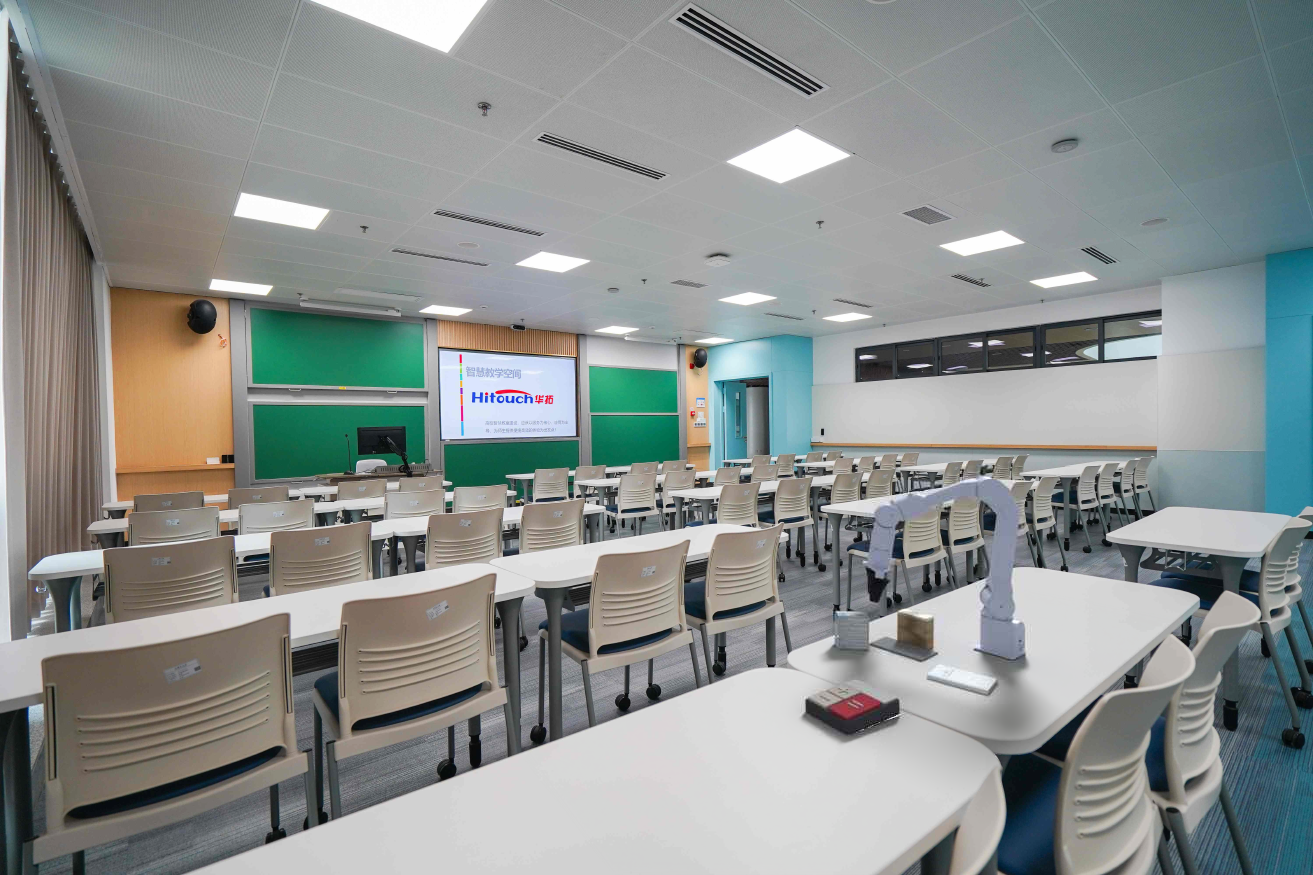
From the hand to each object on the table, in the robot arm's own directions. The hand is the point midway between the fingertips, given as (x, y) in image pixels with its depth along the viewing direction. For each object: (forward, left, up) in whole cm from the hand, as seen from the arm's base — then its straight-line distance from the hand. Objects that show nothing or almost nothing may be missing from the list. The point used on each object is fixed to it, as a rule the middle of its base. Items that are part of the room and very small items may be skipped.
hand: (872, 597), depth 160 cm
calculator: (-21, +42, -11) cm, 48 cm away
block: (-10, -4, -11) cm, 15 cm away
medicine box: (-1, +11, -11) cm, 15 cm away
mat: (-10, +2, -11) cm, 14 cm away
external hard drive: (-28, +9, -12) cm, 31 cm away
